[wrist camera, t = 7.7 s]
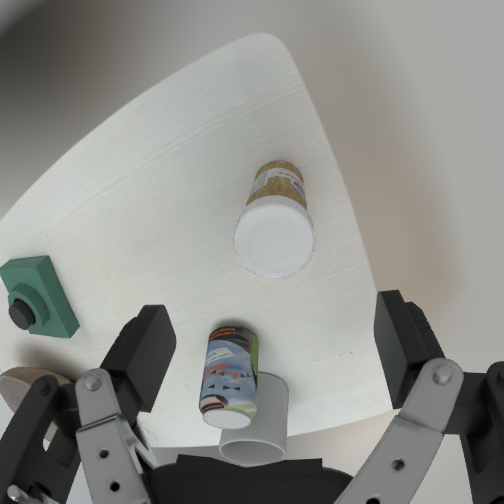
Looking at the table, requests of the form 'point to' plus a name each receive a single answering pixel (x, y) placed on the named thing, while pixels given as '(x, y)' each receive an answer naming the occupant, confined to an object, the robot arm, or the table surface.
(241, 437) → the mug
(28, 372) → the bowl
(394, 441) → the robot arm
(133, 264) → the table surface
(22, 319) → the button
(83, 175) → the table surface
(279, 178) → the sprinkles bottle
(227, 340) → the beverage can
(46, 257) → the green push button box
